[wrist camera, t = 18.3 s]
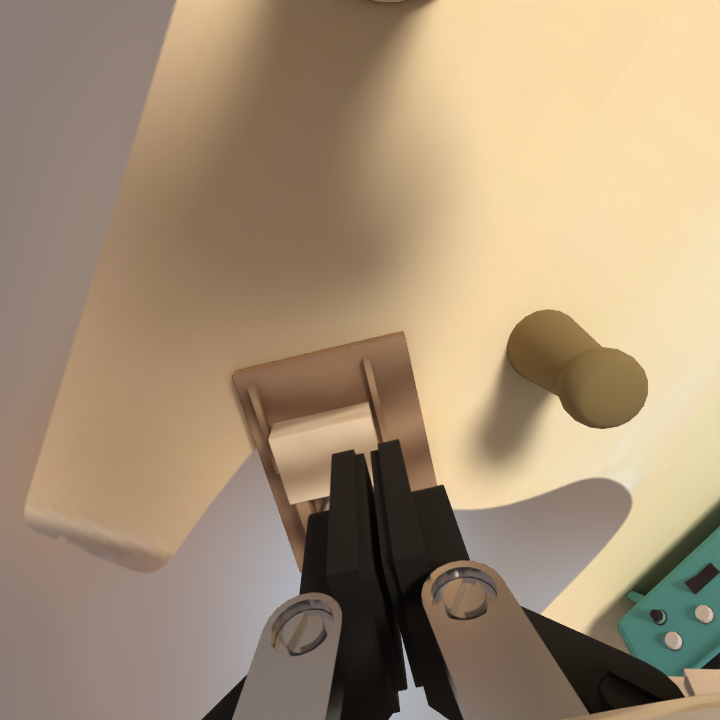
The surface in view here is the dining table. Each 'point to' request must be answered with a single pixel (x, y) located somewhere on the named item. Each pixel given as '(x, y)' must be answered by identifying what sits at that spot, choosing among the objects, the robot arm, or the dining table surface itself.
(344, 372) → the board
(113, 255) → the dining table surface
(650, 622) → the radio
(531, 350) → the cork
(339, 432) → the cream rectangular block
